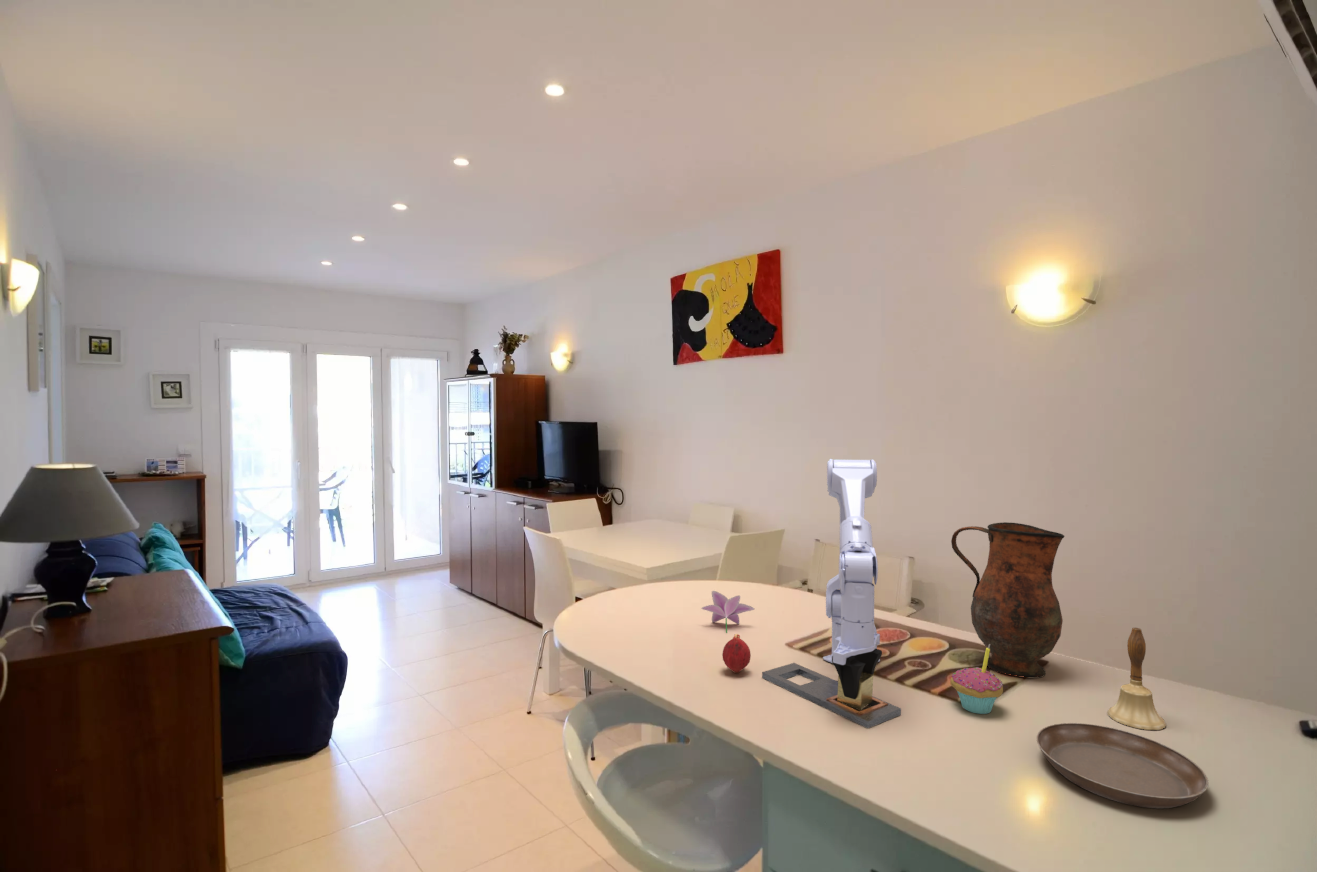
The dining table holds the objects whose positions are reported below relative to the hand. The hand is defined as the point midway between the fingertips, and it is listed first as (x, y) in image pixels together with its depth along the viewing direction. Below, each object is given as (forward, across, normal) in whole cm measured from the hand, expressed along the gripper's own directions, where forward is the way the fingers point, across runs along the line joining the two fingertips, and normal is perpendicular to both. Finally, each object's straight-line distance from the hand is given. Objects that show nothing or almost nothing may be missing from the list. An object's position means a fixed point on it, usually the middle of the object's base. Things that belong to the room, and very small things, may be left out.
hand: (856, 692), depth 119 cm
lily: (+3, -21, -45) cm, 50 cm away
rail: (+3, -2, -7) cm, 8 cm away
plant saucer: (+3, -5, +38) cm, 39 cm away
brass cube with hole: (+2, 0, 0) cm, 2 cm away
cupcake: (+3, -15, +16) cm, 22 cm away
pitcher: (+3, -40, +14) cm, 42 cm away
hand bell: (+3, -29, +38) cm, 48 cm away
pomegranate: (+3, +1, -26) cm, 26 cm away
